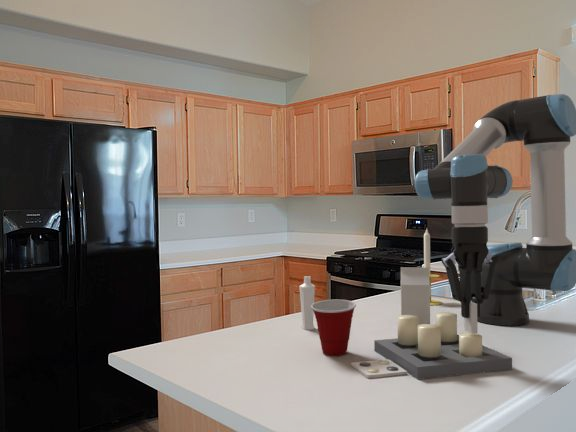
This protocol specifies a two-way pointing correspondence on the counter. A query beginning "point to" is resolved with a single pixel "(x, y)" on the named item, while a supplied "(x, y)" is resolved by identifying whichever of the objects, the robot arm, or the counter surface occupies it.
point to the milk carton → (415, 293)
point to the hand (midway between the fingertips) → (470, 331)
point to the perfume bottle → (307, 303)
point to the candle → (427, 264)
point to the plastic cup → (334, 324)
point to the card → (378, 368)
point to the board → (441, 359)
